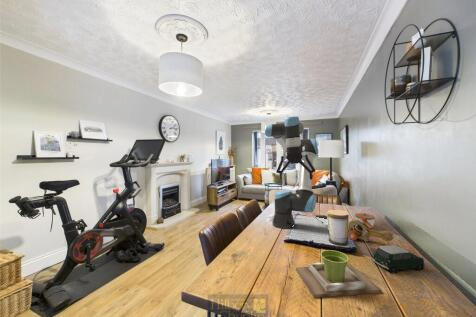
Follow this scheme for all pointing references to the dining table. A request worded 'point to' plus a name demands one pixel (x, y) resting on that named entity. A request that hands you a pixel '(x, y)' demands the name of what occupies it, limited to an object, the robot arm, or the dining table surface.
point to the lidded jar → (369, 218)
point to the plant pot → (334, 265)
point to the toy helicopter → (366, 230)
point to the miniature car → (397, 258)
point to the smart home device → (321, 216)
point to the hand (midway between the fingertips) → (296, 185)
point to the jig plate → (325, 288)
